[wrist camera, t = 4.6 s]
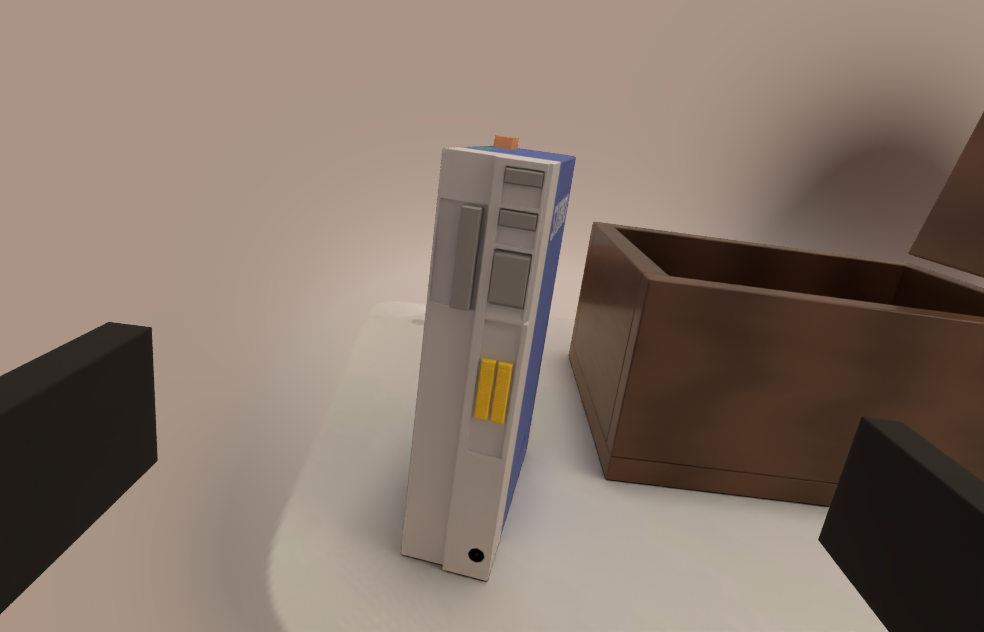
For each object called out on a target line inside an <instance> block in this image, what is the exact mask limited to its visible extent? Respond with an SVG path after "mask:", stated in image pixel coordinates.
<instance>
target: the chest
mask: <svg viewBox="0 0 984 632" xmlns="http://www.w3.org/2000/svg"><path fill="white" fill-rule="evenodd" d="M569 358H570V361H571V364H572V368H573V371H574V374H575V378H576V381H577V384H578V388H579V391H580V394H581V398H582V401H583V404H584V407H585V411H586V414H587V417H588V421H589V424H590V427H591V431H592V434H593V437H594V440H595V444H596V447H597V450H598V454H599V457H600V460H601V464H602V467H603V470H604V474H605V477H606V479H610V480H618V481H627V482H635V483H643V484H652V485H660V486H668V487H676V488H685V489H693V490H701V491H710V492H718V493H726V494H734V495H743V496H751V497H759V498H768V499H776V500H784V501H792V502H801V503H809V504H817V505H826V506H830V505H831V502H832V499H833V496H834V493H835V491H836V488H837V485H838V482H839V479H840V476H841V474H842V471H843V468H844V465H845V462H846V459H847V456H848V454H849V451H850V448H851V445H852V442H853V439H854V437H855V434H856V431H857V428H858V425H859V422H860V419H861V417H870V418H878V419H886V420H894V421H902V422H903V423H904V424H906V425H907V426H908V427H910V428H911V429H913V430H914V431H915V432H917V433H918V434H919V435H921V436H922V437H923V438H925V439H926V440H927V441H929V442H930V443H932V444H933V445H934V446H936V447H937V448H938V449H940V450H941V451H942V452H944V453H945V454H947V455H948V456H949V457H951V458H952V459H953V460H955V461H956V462H957V463H959V464H960V465H961V466H963V467H964V468H966V469H967V470H968V471H970V472H971V473H972V474H974V475H975V476H976V477H978V478H979V479H980V480H982V481H983V482H984V288H981V287H978V286H975V285H972V284H969V283H966V282H963V281H960V280H957V279H954V278H951V277H948V276H945V275H942V274H939V273H936V272H934V271H931V270H928V269H924V268H921V267H919V266H916V265H913V264H908V263H901V262H894V261H886V260H879V259H871V258H863V257H856V256H848V255H841V254H834V253H826V252H818V251H811V250H804V249H796V248H788V247H780V246H773V245H766V244H758V243H750V242H743V241H736V240H728V239H721V238H713V237H706V236H698V235H691V234H683V233H675V232H668V231H660V230H653V229H646V228H638V227H630V226H623V225H616V224H607V223H600V222H593V225H592V230H591V236H590V241H589V247H588V253H587V258H586V264H585V269H584V275H583V280H582V285H581V291H580V296H579V302H578V307H577V313H576V318H575V324H574V329H573V335H572V341H571V345H570V351H569Z"/></svg>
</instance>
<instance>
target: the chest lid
mask: <svg viewBox="0 0 984 632" xmlns="http://www.w3.org/2000/svg"><path fill="white" fill-rule="evenodd" d="M909 254H910V255H913V256H916V257H919V258H922V259H925V260H929V261H932V262H935V263H938V264H941V265H944V266H948V267H951V268H954V269H957V270H960V271H964V272H967V273H970V274H973V275H976V276H979V277H983V278H984V112H983V114H982V116H981V118H980V120H979V122H978V123H977V125H976V127H975V129H974V131H973V133H972V135H971V137H970V138H969V141H968V142H967V144H966V146H965V148H964V150H963V151H962V153H961V155H960V157H959V159H958V161H957V163H956V165H955V166H954V168H953V170H952V172H951V174H950V176H949V178H948V180H947V181H946V183H945V185H944V187H943V189H942V191H941V193H940V194H939V196H938V198H937V200H936V202H935V204H934V206H933V208H932V209H931V211H930V213H929V215H928V217H927V219H926V221H925V223H924V224H923V226H922V228H921V230H920V232H919V234H918V236H917V237H916V239H915V241H914V243H913V245H912V247H911V249H910V251H909Z"/></svg>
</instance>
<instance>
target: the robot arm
mask: <svg viewBox="0 0 984 632" xmlns="http://www.w3.org/2000/svg"><path fill="white" fill-rule="evenodd" d="M157 459H158V458H157V436H156V414H155V392H154V370H153V347H152V328H151V327H145V326H137V325H128V324H121V323H113V322H108V323H106V324H104V325H102V326H100V327H98V328H96V329H94V330H92V331H90V332H88V333H86V334H84V335H82V336H80V337H78V338H76V339H74V340H72V341H70V342H68V343H66V344H64V345H62V346H60V347H58V348H56V349H54V350H52V351H50V352H48V353H46V354H44V355H42V356H40V357H38V358H36V359H34V360H32V361H30V362H28V363H26V364H24V365H22V366H20V367H18V368H16V369H14V370H12V371H10V372H8V373H6V374H4V375H2V376H0V614H1V613H2V612H3V611H4V610H5V609H6V608H7V607H8V606H9V605H10V604H11V603H12V602H13V601H14V600H15V599H16V598H17V597H18V596H20V595H21V593H23V592H24V591H25V590H26V589H27V588H28V587H29V586H30V585H31V584H32V583H33V582H34V581H35V580H36V579H37V578H38V577H39V576H40V575H41V574H42V573H43V572H44V571H45V570H46V569H47V568H48V567H49V566H50V565H51V564H52V563H53V562H54V561H55V560H56V559H57V558H58V557H59V556H61V555H62V554H63V553H64V552H65V551H66V550H67V549H68V548H69V547H70V546H71V545H72V544H73V543H74V542H75V541H76V540H77V539H78V538H79V537H80V536H81V535H82V534H83V533H84V532H85V531H86V530H87V529H88V528H89V527H90V526H91V525H92V524H93V523H94V522H95V521H96V520H97V519H98V518H99V517H100V516H101V515H102V514H104V512H106V511H107V510H108V509H109V508H110V507H111V506H112V505H113V504H114V503H115V502H116V501H117V500H118V499H119V498H120V497H121V496H122V495H123V494H124V493H125V492H126V491H127V490H128V489H129V488H130V487H131V486H132V485H133V484H134V483H135V482H136V481H137V480H138V479H139V478H140V477H141V476H142V475H144V474H145V473H146V472H147V471H148V469H150V468H151V467H152V466H153V465H154V464H155V463H156V462H157ZM818 540H819V541H820V543H821V544H822V545H823V547H824V548H825V549H826V551H827V552H828V553H829V554H830V556H831V557H832V558H833V560H834V561H835V562H836V564H837V565H838V566H839V567H840V569H841V570H842V571H843V573H844V574H845V575H846V577H847V578H848V579H849V581H850V582H851V583H852V584H853V586H854V587H855V588H856V590H857V591H858V592H859V594H860V595H861V596H862V597H863V599H864V600H865V601H866V603H867V604H868V605H869V607H870V608H871V609H872V610H873V612H874V613H875V614H876V616H877V617H878V618H879V620H880V621H881V622H882V623H883V625H884V626H885V627H886V629H887V630H888V631H889V632H984V482H983V481H982V480H980V479H979V478H978V477H976V476H975V475H974V474H972V473H971V472H970V471H968V470H967V469H966V468H964V467H963V466H961V465H960V464H959V463H957V462H956V461H955V460H953V459H952V458H951V457H949V456H948V455H947V454H945V453H944V452H942V451H941V450H940V449H938V448H937V447H936V446H934V445H933V444H932V443H930V442H929V441H927V440H926V439H925V438H923V437H922V436H921V435H919V434H918V433H917V432H915V431H914V430H913V429H911V428H910V427H908V426H907V425H906V424H904V423H903V422H902V421H894V420H886V419H878V418H870V417H861V419H860V422H859V425H858V428H857V431H856V434H855V437H854V439H853V442H852V445H851V448H850V451H849V454H848V456H847V459H846V462H845V465H844V468H843V471H842V474H841V476H840V479H839V482H838V485H837V488H836V491H835V493H834V496H833V499H832V502H831V505H830V508H829V511H828V513H827V516H826V519H825V522H824V525H823V528H822V530H821V533H820V536H819V539H818Z"/></svg>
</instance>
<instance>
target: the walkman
mask: <svg viewBox="0 0 984 632" xmlns="http://www.w3.org/2000/svg"><path fill="white" fill-rule="evenodd" d="M518 139H519V138H514V137H508V136H499V135H496V136H495V141H494V146H483V147H460V148H443V149H442V160H441V169H440V179H439V189H438V198H437V207H436V218H435V228H434V237H433V247H432V256H431V267H430V276H429V285H428V295H427V305H426V314H425V324H424V334H423V344H422V353H421V363H420V373H419V383H418V392H417V402H416V412H415V421H414V431H413V441H412V451H411V460H410V470H409V480H408V490H407V499H406V509H405V519H404V528H403V538H402V548H401V554H402V555H406V556H410V557H414V558H418V559H422V560H426V561H430V562H434V563H438V564H442V565H443V568H442V570H446V571H450V572H454V573H458V574H462V575H466V576H469V577H473V578H477V579H481V580H486V581H488V578H489V574H490V571H491V567H492V564H493V561H494V557H495V554H496V551H497V547H498V544H499V541H500V537H501V533H502V530H503V527H504V523H505V520H506V517H507V513H508V510H509V506H510V503H511V500H512V496H513V493H514V490H515V486H516V483H517V479H518V476H519V473H520V469H521V466H522V463H523V459H524V456H525V453H526V449H527V444H528V438H529V432H530V426H531V420H532V414H533V408H534V402H535V396H536V390H537V384H538V378H539V373H540V367H541V361H542V355H543V349H544V343H545V337H546V331H547V325H548V319H549V313H550V307H551V301H552V295H553V290H554V283H555V278H556V271H557V266H558V260H559V254H560V248H561V242H562V236H563V230H564V224H565V219H566V213H567V207H568V201H569V195H570V189H571V183H572V177H573V171H574V165H575V158H576V157H574V156H568V155H561V154H555V153H548V152H541V151H534V150H527V149H519V148H517V147H518Z"/></svg>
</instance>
